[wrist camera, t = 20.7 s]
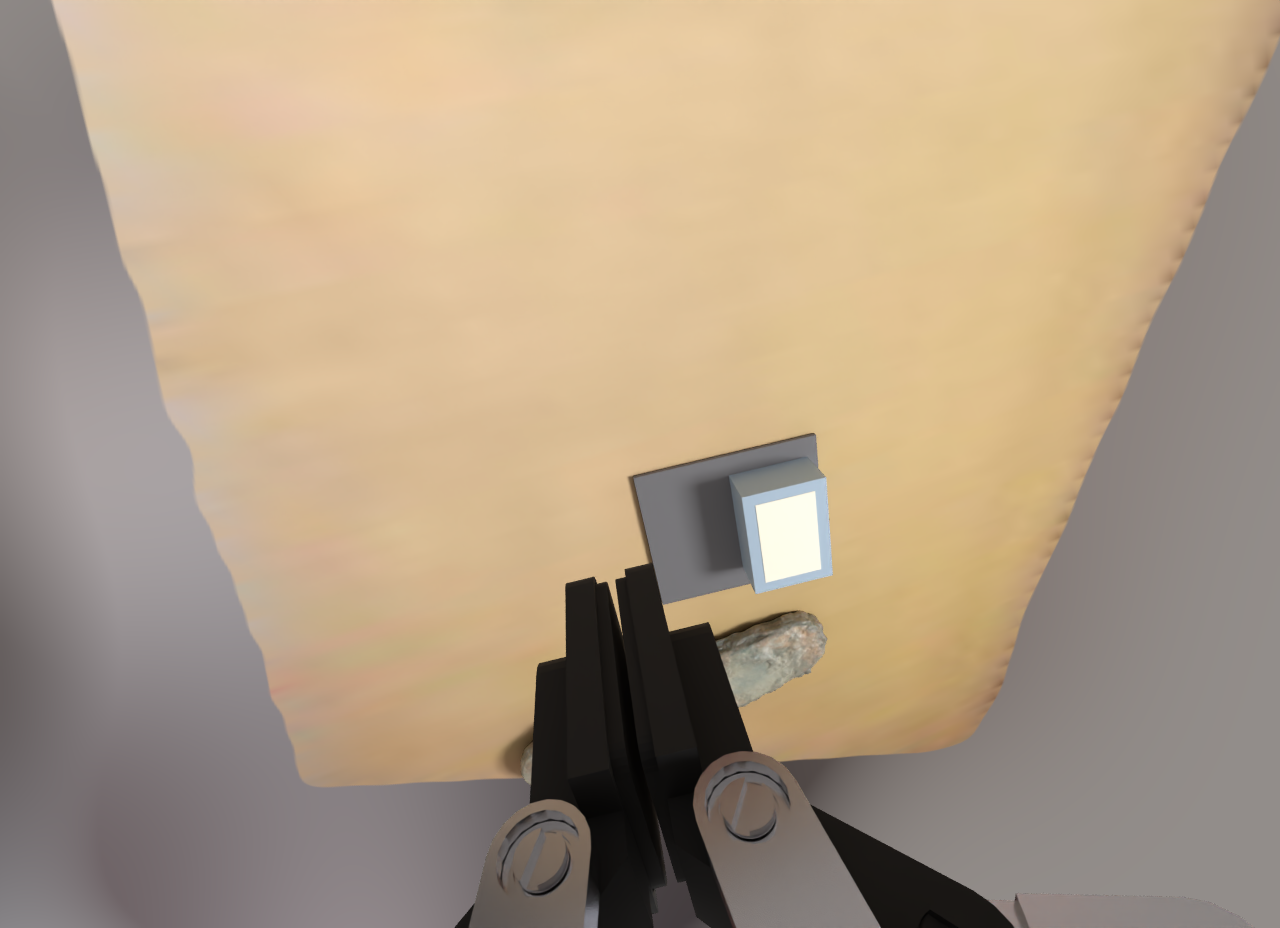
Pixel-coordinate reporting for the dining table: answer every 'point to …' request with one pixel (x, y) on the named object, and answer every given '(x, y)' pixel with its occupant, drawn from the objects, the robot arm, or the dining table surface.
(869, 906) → the robot arm
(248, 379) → the dining table surface
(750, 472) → the pale blue upright box
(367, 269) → the dining table surface
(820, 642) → the elongated rough stone
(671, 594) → the mat
